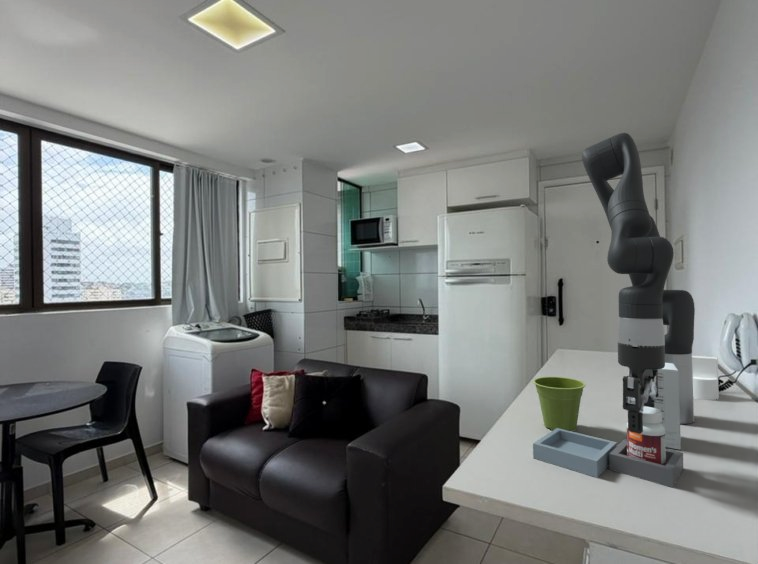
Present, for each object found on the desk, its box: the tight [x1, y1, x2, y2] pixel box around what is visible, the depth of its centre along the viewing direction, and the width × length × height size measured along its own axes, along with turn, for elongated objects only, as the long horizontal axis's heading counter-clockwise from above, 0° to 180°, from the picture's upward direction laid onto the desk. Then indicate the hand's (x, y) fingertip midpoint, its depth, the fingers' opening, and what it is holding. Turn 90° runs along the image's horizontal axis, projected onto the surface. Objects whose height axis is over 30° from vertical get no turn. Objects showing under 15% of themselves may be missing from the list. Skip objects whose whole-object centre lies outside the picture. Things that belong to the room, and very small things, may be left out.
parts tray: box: [532, 428, 618, 479], centre depth 81 cm, size 12×12×3 cm
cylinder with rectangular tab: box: [692, 355, 720, 401], centre depth 123 cm, size 9×9×12 cm
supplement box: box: [627, 363, 682, 451], centre depth 90 cm, size 10×9×17 cm
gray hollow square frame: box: [609, 438, 684, 488], centre depth 76 cm, size 10×10×3 cm
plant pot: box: [532, 376, 587, 432], centre depth 98 cm, size 12×12×11 cm
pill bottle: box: [626, 406, 667, 466], centre depth 76 cm, size 6×6×11 cm
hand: (641, 426), depth 76 cm, fingers open, 8 cm apart
